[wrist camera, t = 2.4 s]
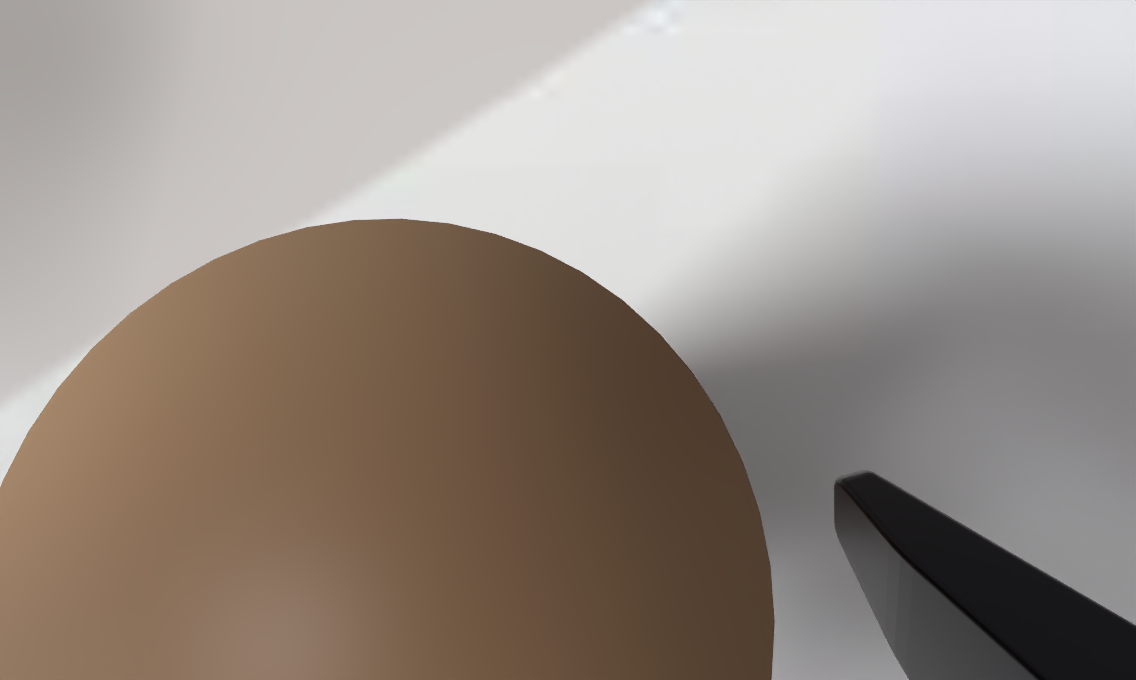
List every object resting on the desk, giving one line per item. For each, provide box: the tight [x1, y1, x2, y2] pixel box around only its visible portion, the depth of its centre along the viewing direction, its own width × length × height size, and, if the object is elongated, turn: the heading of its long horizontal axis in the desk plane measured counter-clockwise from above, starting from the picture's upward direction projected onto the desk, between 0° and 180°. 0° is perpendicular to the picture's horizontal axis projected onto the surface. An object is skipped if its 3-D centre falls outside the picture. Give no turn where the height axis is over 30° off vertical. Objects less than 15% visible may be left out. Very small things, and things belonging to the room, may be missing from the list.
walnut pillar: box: [0, 219, 774, 680], centre depth 12 cm, size 5×5×14 cm
